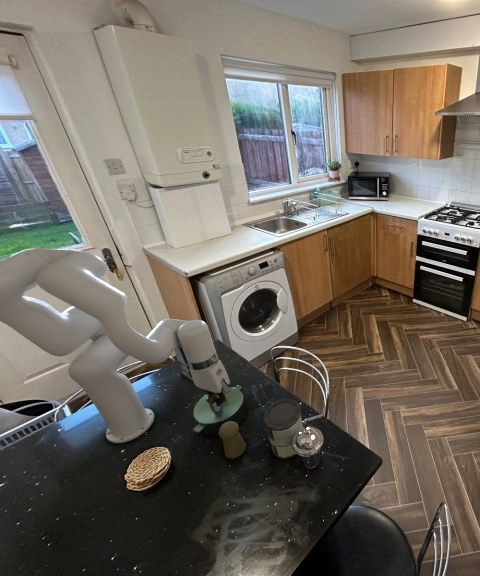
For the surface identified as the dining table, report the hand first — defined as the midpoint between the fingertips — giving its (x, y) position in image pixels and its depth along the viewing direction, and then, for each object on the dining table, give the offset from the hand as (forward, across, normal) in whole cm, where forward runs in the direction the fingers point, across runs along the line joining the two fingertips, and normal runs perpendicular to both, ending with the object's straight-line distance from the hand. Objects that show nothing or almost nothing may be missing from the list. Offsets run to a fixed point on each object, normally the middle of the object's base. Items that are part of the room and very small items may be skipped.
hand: (218, 401), depth 101 cm
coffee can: (+8, -26, +1) cm, 27 cm away
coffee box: (+8, +26, -15) cm, 31 cm away
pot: (+8, 0, 0) cm, 8 cm away
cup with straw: (+8, -36, +4) cm, 37 cm away
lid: (+2, 0, 0) cm, 2 cm away
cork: (+8, -12, +8) cm, 16 cm away
